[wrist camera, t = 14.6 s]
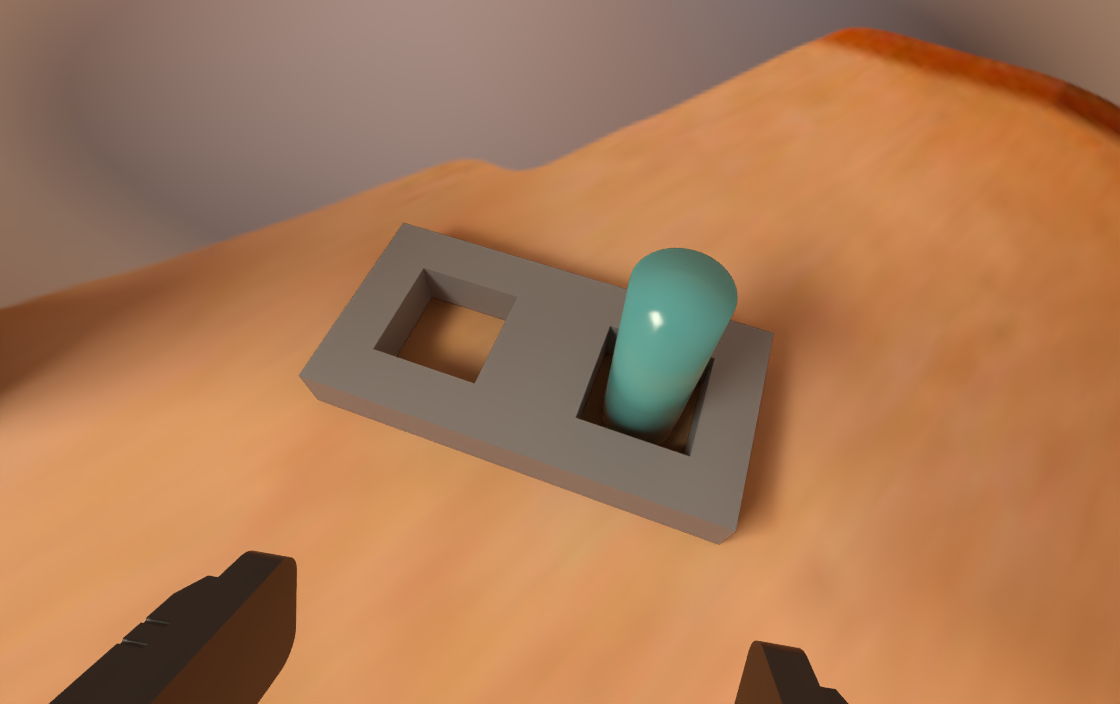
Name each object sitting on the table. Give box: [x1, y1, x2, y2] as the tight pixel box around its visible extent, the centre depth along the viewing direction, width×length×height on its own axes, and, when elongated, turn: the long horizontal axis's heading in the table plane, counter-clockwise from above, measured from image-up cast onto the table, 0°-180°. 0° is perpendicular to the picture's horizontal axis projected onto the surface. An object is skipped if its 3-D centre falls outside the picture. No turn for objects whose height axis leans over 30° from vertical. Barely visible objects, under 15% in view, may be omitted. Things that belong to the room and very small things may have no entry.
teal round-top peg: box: [602, 248, 737, 445], centre depth 28 cm, size 4×4×12 cm
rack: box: [299, 223, 774, 544], centre depth 33 cm, size 24×12×3 cm, turn 70°
